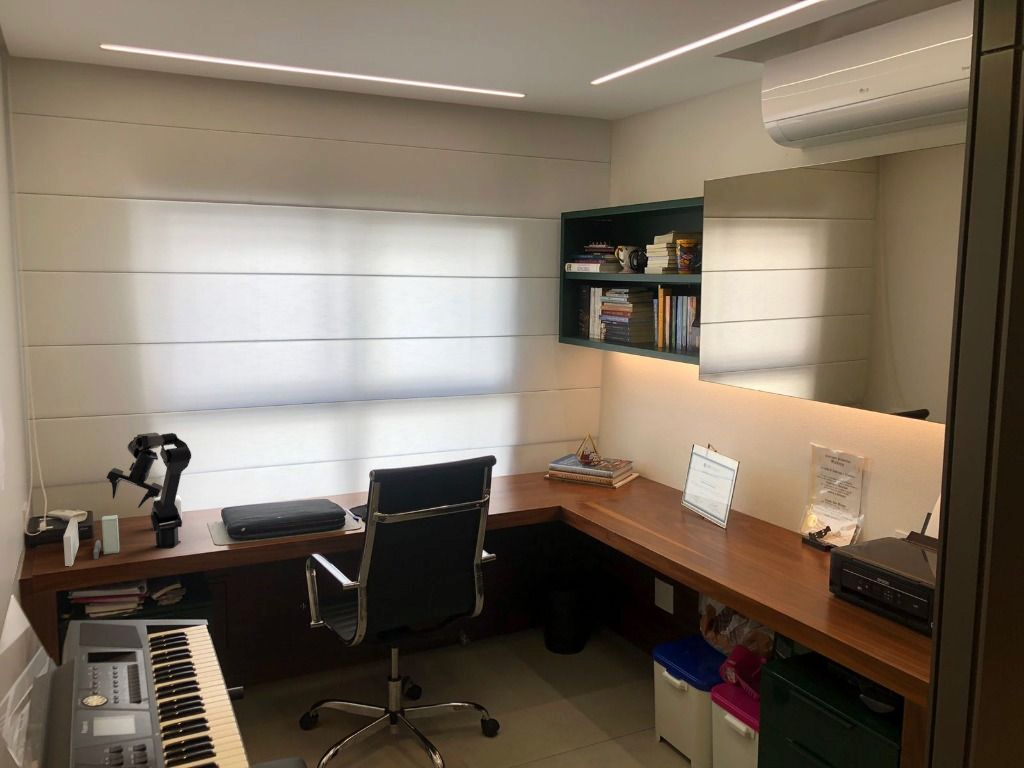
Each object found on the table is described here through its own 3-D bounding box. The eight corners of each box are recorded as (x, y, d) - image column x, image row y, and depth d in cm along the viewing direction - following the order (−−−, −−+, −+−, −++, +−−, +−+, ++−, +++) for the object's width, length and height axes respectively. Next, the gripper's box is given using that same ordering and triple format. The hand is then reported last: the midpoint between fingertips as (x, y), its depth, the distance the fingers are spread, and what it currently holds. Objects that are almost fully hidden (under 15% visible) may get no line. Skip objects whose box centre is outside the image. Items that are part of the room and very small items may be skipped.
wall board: (101, 542, 294) (100, 515, 293) (96, 563, 272) (95, 533, 271) (72, 545, 290) (70, 518, 289) (65, 566, 268) (63, 536, 267)
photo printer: (181, 523, 318) (179, 492, 317) (183, 526, 315) (182, 494, 313) (152, 527, 312) (151, 495, 311) (154, 530, 309) (153, 498, 307)
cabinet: (119, 548, 287) (117, 515, 286) (118, 552, 283) (116, 518, 281) (104, 550, 286) (102, 516, 284) (103, 554, 281) (101, 520, 280)
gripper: (172, 468, 310) (156, 505, 311) (123, 449, 305) (106, 486, 307) (166, 477, 299) (149, 515, 300) (114, 457, 294) (97, 496, 296)
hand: (126, 503), depth 301 cm, fingers open, 9 cm apart
